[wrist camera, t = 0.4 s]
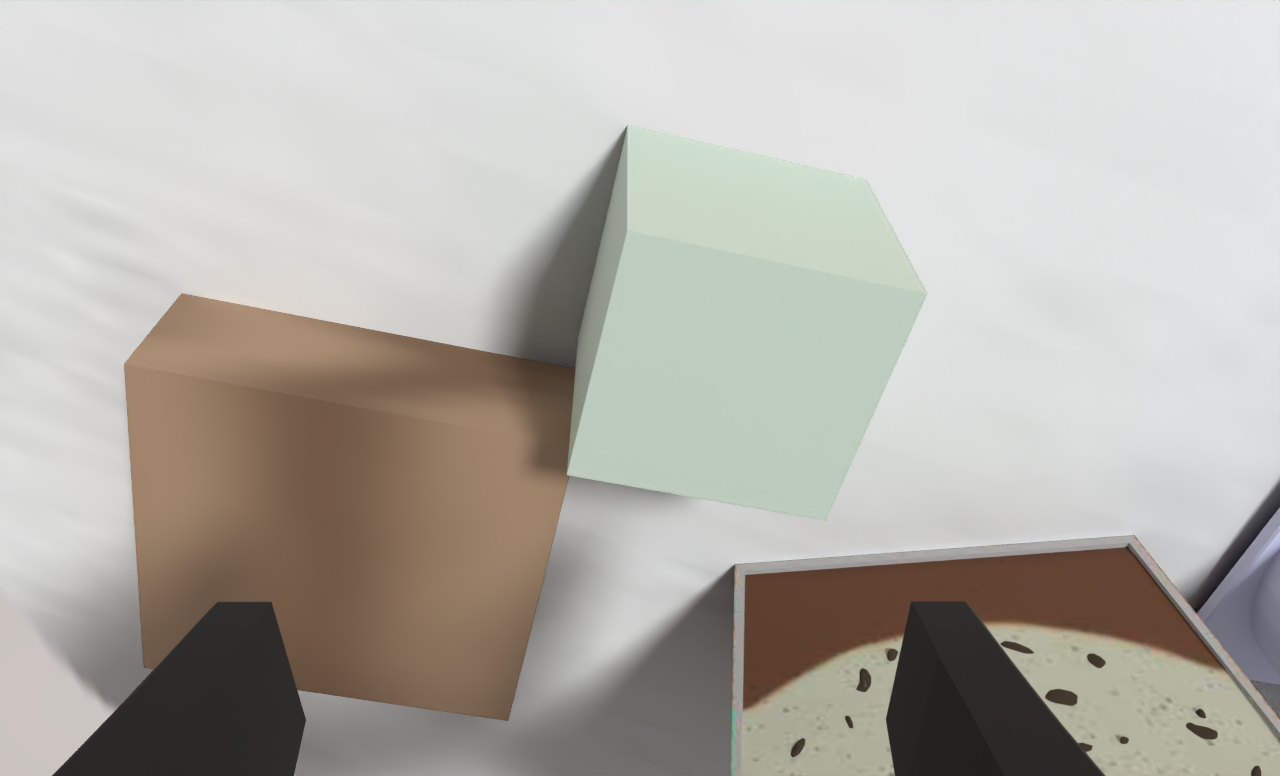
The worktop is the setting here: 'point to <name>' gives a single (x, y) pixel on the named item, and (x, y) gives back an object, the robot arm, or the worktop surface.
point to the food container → (1026, 630)
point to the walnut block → (347, 498)
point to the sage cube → (736, 327)
